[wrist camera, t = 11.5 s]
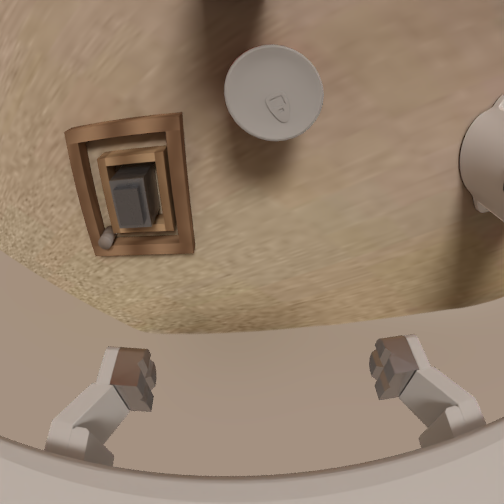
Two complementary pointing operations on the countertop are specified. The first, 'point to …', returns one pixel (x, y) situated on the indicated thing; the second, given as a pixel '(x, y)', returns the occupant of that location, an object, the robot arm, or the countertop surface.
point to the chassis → (165, 157)
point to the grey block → (135, 195)
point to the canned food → (273, 92)
